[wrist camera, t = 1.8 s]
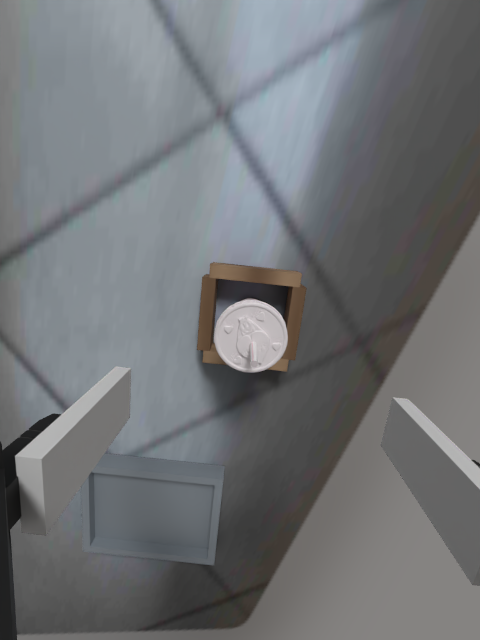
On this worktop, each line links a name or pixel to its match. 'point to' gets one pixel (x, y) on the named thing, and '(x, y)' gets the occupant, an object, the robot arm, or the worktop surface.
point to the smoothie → (250, 336)
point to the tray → (152, 508)
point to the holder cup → (257, 276)
